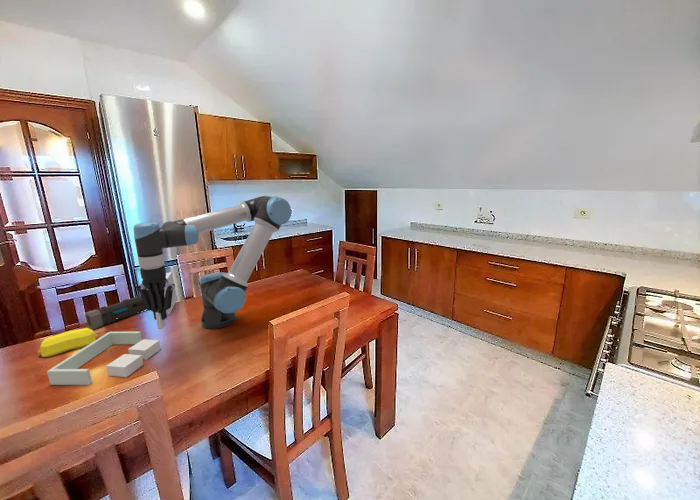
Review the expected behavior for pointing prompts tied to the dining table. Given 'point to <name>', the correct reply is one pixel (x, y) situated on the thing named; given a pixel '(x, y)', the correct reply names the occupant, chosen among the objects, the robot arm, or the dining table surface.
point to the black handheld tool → (114, 312)
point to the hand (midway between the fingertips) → (162, 327)
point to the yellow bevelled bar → (67, 341)
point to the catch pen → (87, 359)
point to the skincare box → (174, 296)
